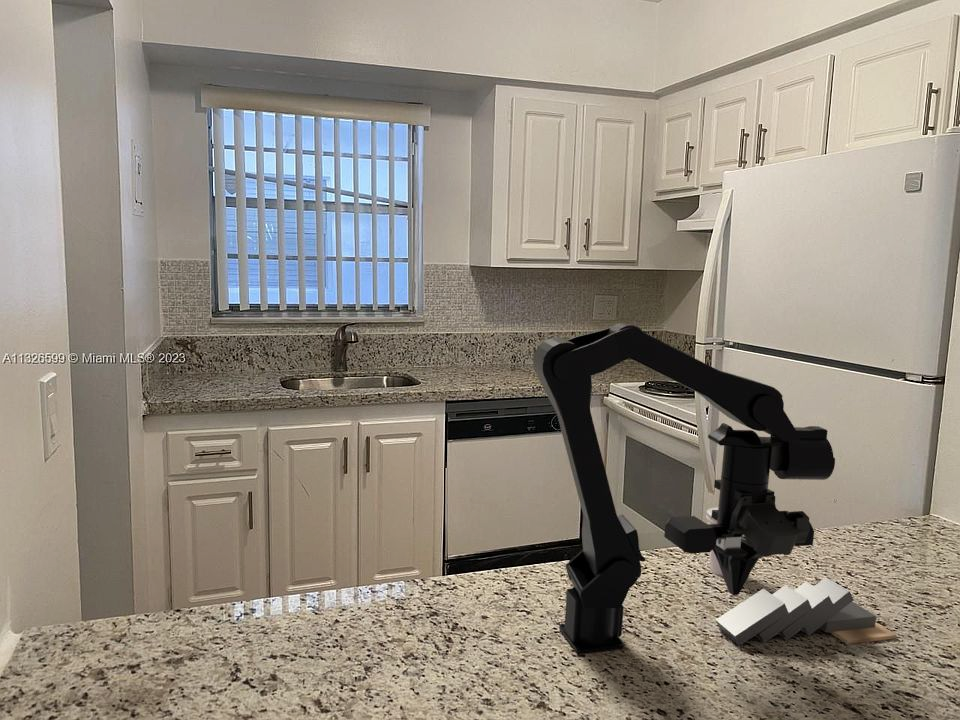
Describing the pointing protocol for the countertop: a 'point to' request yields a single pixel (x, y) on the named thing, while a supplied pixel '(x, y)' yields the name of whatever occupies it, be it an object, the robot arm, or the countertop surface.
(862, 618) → the tile
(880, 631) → the pad
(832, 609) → the tile
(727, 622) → the tile
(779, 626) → the tile
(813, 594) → the tile
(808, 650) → the countertop surface
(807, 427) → the robot arm
